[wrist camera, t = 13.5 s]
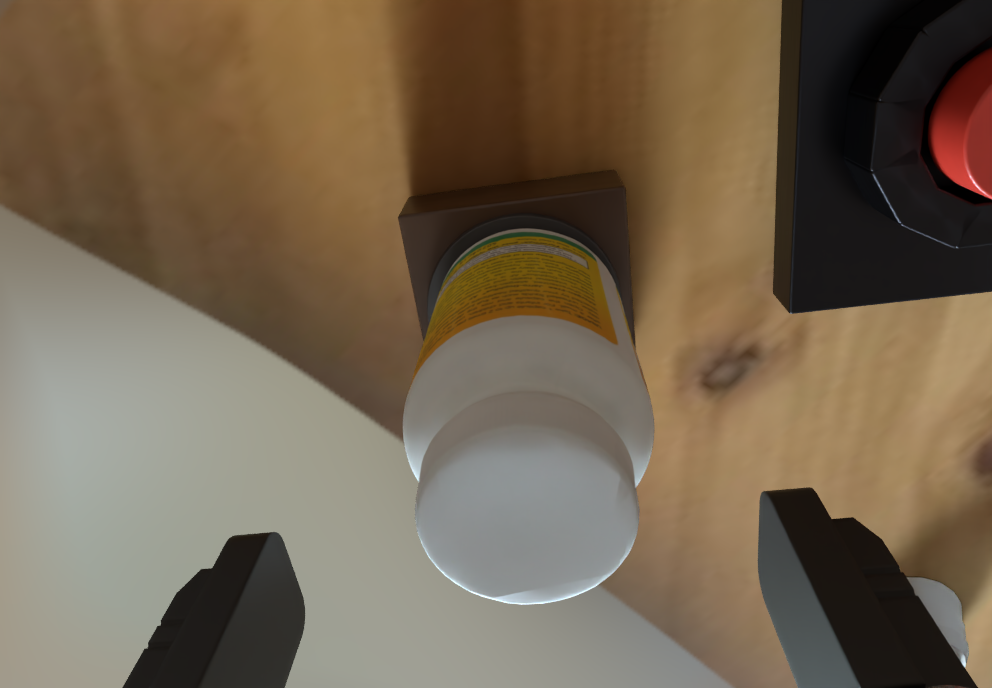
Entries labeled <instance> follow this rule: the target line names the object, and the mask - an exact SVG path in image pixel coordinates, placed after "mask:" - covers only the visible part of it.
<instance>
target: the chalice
mask: <svg viewBox="0 0 992 688" xmlns="http://www.w3.org/2000/svg"><path fill="white" fill-rule="evenodd" d="M906 578H907V579H908V581H909V582H910V584H911V585H912V587H913V588H914V593H915V595H916V596H917V595H918V596H919V598H920V599H921V601H922V602H923V604H924V606H925V607H926V609H927V610H928V612H929V613H930V615H931V616H932V618H933V619H934V621H935V623H936V624H937V626H938V627H939V629H940V630H941V632H942V633H943V635H944V637H945V638H946V640H947V641H948V643H949V644H950V646H951V647H952V649H953V650H954V652H955V654H956V655H957V657H958V658H959V660H960V661H961V663H962V664H963V666H964V668H965V666H966V663H967V659H968V655H969V650H968V643H967V642H966V640H965V639H966V634H965V625H964V623H963V622H962V607H961V602H960V601H959V599H958V598H957V596H956V594H955V593H954V591H952V590H951V589H949V588H948V587H946V586H945V585H943V584H942V583H940V582H937V581H933V580H930V579H926V578H922V577H906Z"/></svg>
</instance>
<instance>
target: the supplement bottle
mask: <svg viewBox="0 0 992 688" xmlns="http://www.w3.org/2000/svg"><path fill="white" fill-rule="evenodd" d="M403 438H404V445H405V450H406V454H407V457H408V461H409V464H410V466H411V469H412V471H413V473H414V475H415V476H416V478H417V480H418V482H419V485H418V491H417V497H416V505H415V520H416V526H417V532H418V535H419V538H420V541H421V543H422V545H423V547H424V549H425V551H426V553H427V555H428V556H429V558H430V559H431V561H432V562H433V563H434V564H435V566H436V567H437V568H438V569H439V570H440V571H441V572H442V573H443V574H444V575H445V576H446V577H448V578H449V579H451V580H452V581H453V582H454V583H456V584H457V585H459V586H461V587H463V588H464V589H466V590H467V591H470V592H472V593H474V594H477V595H479V596H482V597H486V598H489V599H493V600H497V601H500V602H505V603H514V604H545V603H549V602H555V601H559V600H563V599H567V598H570V597H573V596H576V595H578V594H581V593H583V592H586V591H588V590H589V589H591V588H593V587H595V586H597V585H598V584H599V583H601V582H602V581H604V580H605V579H606V578H607V577H609V576H610V575H611V574H612V573H614V572H615V570H616V569H617V568H618V567H619V566H620V565H621V563H622V562H623V561H624V559H625V558H626V556H627V555H628V553H629V552H630V550H631V548H632V546H633V543H634V541H635V538H636V535H637V529H638V524H639V511H640V509H639V503H638V497H637V491H636V487H637V485H638V484H639V482H640V480H641V479H642V477H643V475H644V473H645V471H646V468H647V466H648V463H649V460H650V457H651V452H652V448H653V441H654V417H653V410H652V405H651V401H650V396H649V393H648V389H647V386H646V382H645V379H644V376H643V372H642V369H641V366H640V363H639V359H638V356H637V353H636V350H635V347H634V344H633V340H632V337H631V334H630V330H629V326H628V323H627V319H626V316H625V312H624V309H623V305H622V302H621V298H620V295H619V292H618V290H617V287H616V284H615V282H614V280H613V278H612V276H611V274H610V273H609V271H608V269H607V268H606V266H605V265H604V264H603V263H602V262H601V260H600V259H599V258H598V257H597V256H596V255H595V254H594V253H593V252H592V251H591V250H589V249H588V248H587V247H586V246H584V245H583V244H581V243H580V242H578V241H576V240H575V239H572V238H570V237H567V236H564V235H561V234H559V233H555V232H551V231H546V230H540V229H529V228H524V229H513V230H507V231H503V232H499V233H496V234H494V235H491V236H488V237H486V238H484V239H482V240H481V241H479V242H477V243H475V244H474V245H473V246H471V247H470V248H469V249H467V250H466V251H465V252H464V253H463V254H462V255H461V256H460V257H459V258H458V259H457V260H456V261H455V262H454V264H453V265H452V267H451V268H450V270H449V272H448V274H447V275H446V277H445V279H444V282H443V284H442V287H441V289H440V292H439V295H438V298H437V301H436V304H435V308H434V311H433V314H432V317H431V321H430V324H429V327H428V330H427V334H426V337H425V340H424V343H423V346H422V349H421V352H420V355H419V359H418V362H417V366H416V369H415V372H414V375H413V379H412V383H411V386H410V389H409V392H408V396H407V399H406V403H405V408H404V415H403Z"/></svg>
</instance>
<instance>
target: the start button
mask: <svg viewBox="0 0 992 688" xmlns="http://www.w3.org/2000/svg"><path fill="white" fill-rule="evenodd" d="M928 146H929V150H930V154H931V157H932V159H933V161H934V163H935V165H936V166H937V168H938V169H939V171H940V172H941V173H942V174H943V175H944V176H945V177H947V178H948V179H949V180H950V181H952V182H954V183H956V184H958V185H960V186H962V187H965V188H967V189H969V190H971V191H974V192H976V193H978V194H980V195H983V196H985V197H987V198H989V199H992V47H991V48H989V49H987V50H985V51H983V52H981V53H980V54H978V55H976V56H975V57H973V58H972V59H971V60H969V61H968V62H967V63H965V64H964V65H963V66H962V67H961V68H960V69H959V70H958V71H957V72H956V73H955V74H954V75H953V76H952V77H951V78H950V79H949V81H948V82H947V83H946V85H945V86H944V88H943V89H942V91H941V92H940V94H939V96H938V98H937V100H936V102H935V104H934V106H933V109H932V112H931V115H930V119H929V125H928Z"/></svg>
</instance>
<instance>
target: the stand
mask: <svg viewBox="0 0 992 688" xmlns="http://www.w3.org/2000/svg"><path fill="white" fill-rule="evenodd" d="M398 220H399V225H400V229H401V234H402V239H403V244H404V249H405V254H406V259H407V263H408V268H409V273H410V278H411V283H412V288H413V292H414V297H415V302H416V307H417V312H418V317H419V322H420V326H421V331H422V336H423V341H424V340H425V337H426V334H427V330H428V327H429V324H430V321H431V317H432V314H433V311H434V308H435V304H436V301H437V298H438V295H439V292H440V289H441V287H442V284H443V282H444V279H445V277H446V275H447V274H448V272H449V270H450V268H451V267H452V265H453V264H454V262H455V261H456V260H457V259H458V258H459V257H460V256H461V255H462V254H463V253H464V252H465V251H466V250H467V249H469V248H470V247H471V246H473V245H474V244H475V243H477V242H479V241H481V240H482V239H484V238H486V237H488V236H491V235H494V234H496V233H499V232H503V231H507V230H513V229H524V228H529V229H540V230H546V231H551V232H555V233H559V234H561V235H564V236H567V237H570V238H572V239H575V240H576V241H578V242H580V243H581V244H583V245H584V246H586V247H587V248H588V249H589V250H591V251H592V252H593V253H594V254H595V255H596V256H597V257H598V258H599V259H600V260H601V262H602V263H603V264H604V265H605V266H606V268H607V269H608V271H609V273H610V274H611V276H612V278H613V280H614V282H615V284H616V287H617V290H618V292H619V295H620V298H621V302H622V305H623V309H624V312H625V316H626V319H627V323H628V326H629V330H630V334H631V337H632V340H633V344H634V347H635V331H634V315H633V299H632V283H631V267H630V250H629V234H628V218H627V202H626V189H625V187H624V185H623V183H622V181H621V179H620V177H619V175H618V173H617V171H616V170H609V171H601V172H594V173H586V174H579V175H571V176H564V177H556V178H548V179H541V180H533V181H526V182H518V183H511V184H503V185H495V186H488V187H480V188H473V189H465V190H458V191H450V192H442V193H435V194H427V195H420V196H412V197H409V198H408V200H407V202H406V204H405V206H404V207H403V209H402V211H401V213H400V214H399V217H398ZM635 350H636V347H635Z"/></svg>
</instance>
